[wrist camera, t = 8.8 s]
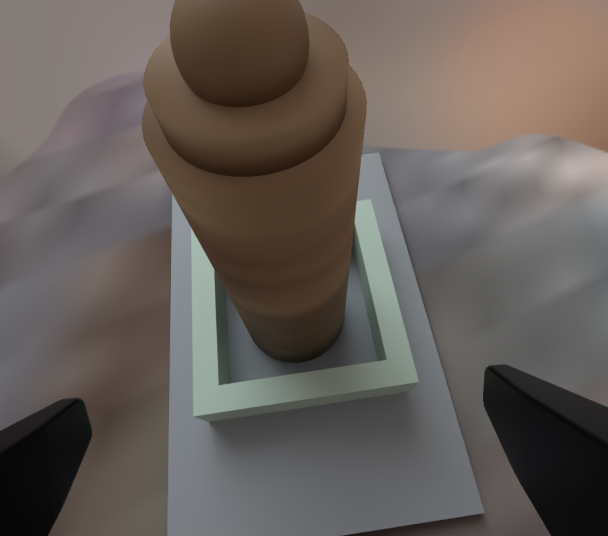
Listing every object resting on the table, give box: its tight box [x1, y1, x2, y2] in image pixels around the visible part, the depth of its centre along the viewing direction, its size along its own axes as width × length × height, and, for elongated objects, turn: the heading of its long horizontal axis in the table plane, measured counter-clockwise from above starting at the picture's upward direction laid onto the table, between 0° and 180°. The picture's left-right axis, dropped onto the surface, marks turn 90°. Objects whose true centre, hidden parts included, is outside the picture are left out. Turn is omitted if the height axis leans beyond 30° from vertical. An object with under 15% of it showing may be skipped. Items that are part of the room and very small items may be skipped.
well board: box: [167, 152, 485, 536], centre depth 18 cm, size 18×12×3 cm, turn 8°
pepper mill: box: [142, 0, 367, 363], centre depth 12 cm, size 5×5×14 cm
